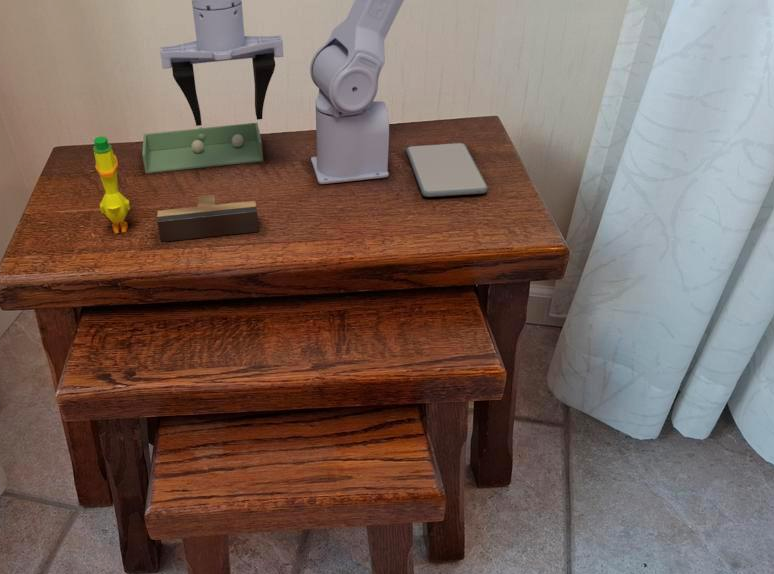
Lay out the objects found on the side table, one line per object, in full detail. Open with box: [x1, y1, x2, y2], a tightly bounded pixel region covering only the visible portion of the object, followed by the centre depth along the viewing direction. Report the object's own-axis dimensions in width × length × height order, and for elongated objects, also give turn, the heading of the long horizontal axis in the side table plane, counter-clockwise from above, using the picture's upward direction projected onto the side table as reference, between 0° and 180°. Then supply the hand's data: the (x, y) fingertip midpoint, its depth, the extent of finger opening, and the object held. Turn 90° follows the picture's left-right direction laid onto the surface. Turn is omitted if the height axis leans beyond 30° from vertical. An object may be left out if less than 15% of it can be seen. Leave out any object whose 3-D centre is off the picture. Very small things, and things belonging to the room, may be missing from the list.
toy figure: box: [92, 136, 131, 234], centre depth 93 cm, size 7×4×12 cm, turn 9°
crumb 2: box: [232, 134, 244, 147], centre depth 112 cm, size 2×2×2 cm
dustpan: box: [141, 122, 264, 174], centre depth 111 cm, size 10×17×3 cm, turn 96°
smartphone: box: [405, 142, 489, 198], centre depth 102 cm, size 8×1×15 cm
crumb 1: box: [191, 140, 205, 153], centre depth 111 cm, size 2×2×2 cm
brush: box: [156, 194, 260, 243], centre depth 95 cm, size 12×3×6 cm
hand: (228, 119), depth 97 cm, fingers open, 7 cm apart
